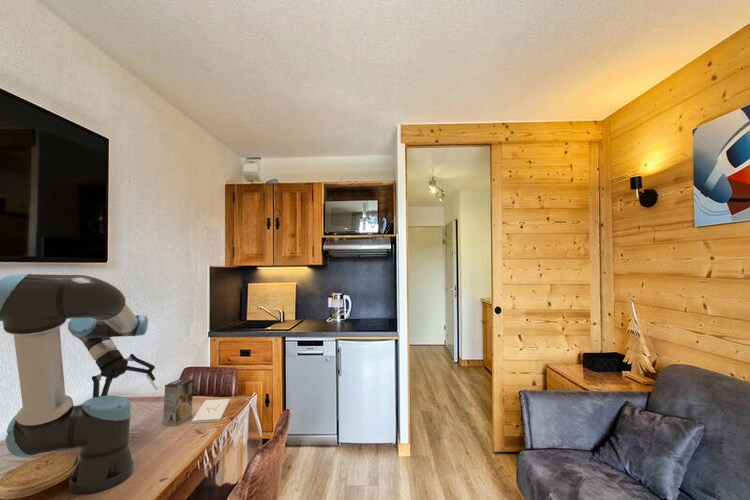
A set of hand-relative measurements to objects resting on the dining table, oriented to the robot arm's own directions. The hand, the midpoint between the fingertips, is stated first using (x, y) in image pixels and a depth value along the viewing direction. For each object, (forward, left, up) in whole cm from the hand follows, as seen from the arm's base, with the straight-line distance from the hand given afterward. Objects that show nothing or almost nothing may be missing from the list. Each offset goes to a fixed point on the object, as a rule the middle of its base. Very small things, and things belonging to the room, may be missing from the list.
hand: (136, 401), depth 122 cm
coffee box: (+17, -9, -15) cm, 25 cm away
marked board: (+24, -21, -15) cm, 35 cm away
